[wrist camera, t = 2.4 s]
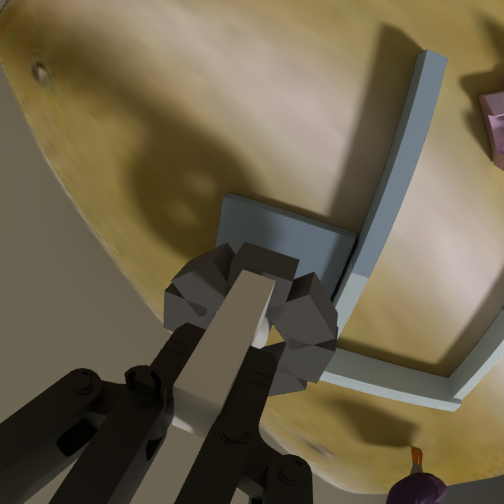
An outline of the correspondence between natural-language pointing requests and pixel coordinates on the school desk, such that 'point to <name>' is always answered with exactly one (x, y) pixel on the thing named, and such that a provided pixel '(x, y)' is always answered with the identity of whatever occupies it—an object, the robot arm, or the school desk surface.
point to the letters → (494, 122)
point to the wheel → (278, 311)
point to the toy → (417, 486)
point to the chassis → (365, 259)
